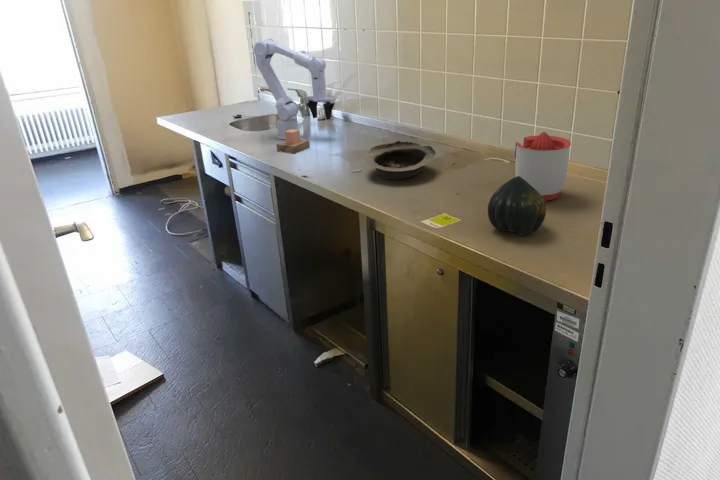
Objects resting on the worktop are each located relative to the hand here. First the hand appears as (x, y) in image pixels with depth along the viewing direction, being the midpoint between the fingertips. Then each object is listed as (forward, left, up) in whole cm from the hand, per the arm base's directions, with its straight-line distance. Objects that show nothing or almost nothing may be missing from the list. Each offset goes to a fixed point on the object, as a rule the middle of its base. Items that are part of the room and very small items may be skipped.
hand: (321, 118), depth 242 cm
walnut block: (-2, -18, -10) cm, 21 cm away
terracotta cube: (-2, -18, -6) cm, 19 cm away
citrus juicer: (+106, -28, -10) cm, 110 cm away
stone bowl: (+57, -28, -10) cm, 64 cm away
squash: (+109, -55, -10) cm, 122 cm away
